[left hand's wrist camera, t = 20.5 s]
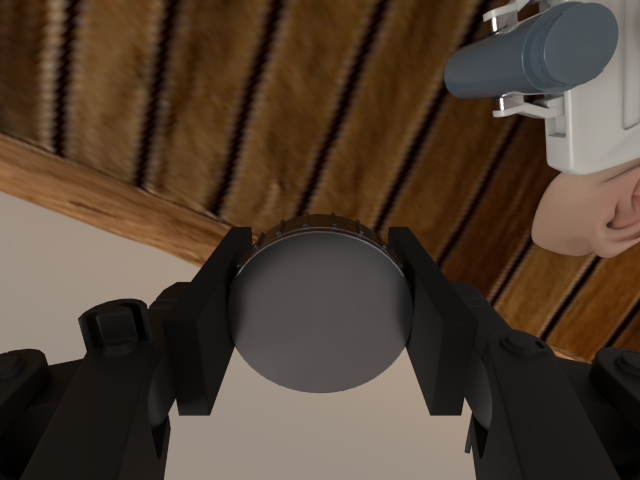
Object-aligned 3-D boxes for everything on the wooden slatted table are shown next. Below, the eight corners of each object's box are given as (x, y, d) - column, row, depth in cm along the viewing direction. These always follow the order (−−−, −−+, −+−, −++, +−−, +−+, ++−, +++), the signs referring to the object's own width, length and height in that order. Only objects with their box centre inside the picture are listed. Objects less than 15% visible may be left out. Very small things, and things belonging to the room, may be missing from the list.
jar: (433, 72, 33) (519, 45, 19) (474, 32, 32) (597, -31, 18) (464, 110, 35) (566, 110, 20) (504, 72, 33) (643, 43, 19)
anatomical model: (550, 277, 36) (559, 167, 32) (529, 262, 40) (534, 161, 36) (683, 259, 36) (709, 144, 32) (649, 245, 39) (668, 141, 35)
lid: (418, 338, 12) (432, 372, 11) (268, 374, 13) (261, 411, 11) (383, 189, 11) (394, 204, 9) (210, 239, 11) (192, 260, 9)
